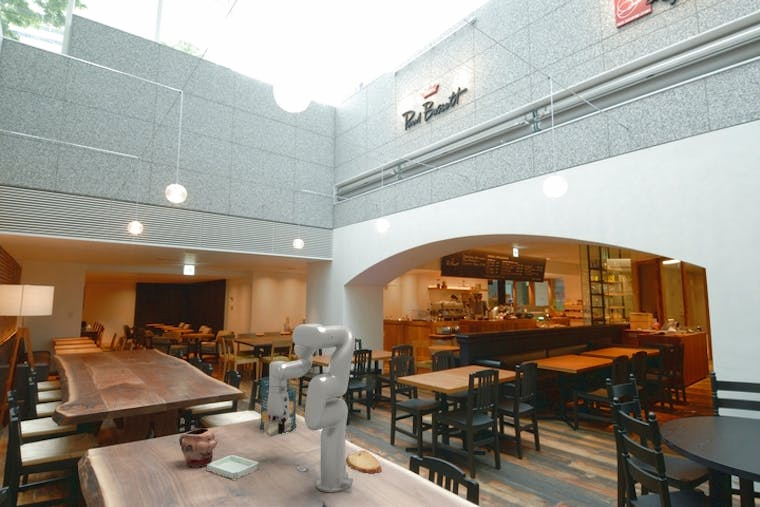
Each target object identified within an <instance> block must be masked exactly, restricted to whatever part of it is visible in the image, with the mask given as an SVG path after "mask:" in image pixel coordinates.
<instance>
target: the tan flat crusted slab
mask: <svg viewBox="0 0 760 507" xmlns="http://www.w3.org/2000/svg"><path fill="white" fill-rule="evenodd" d="M347 464H348V465H347ZM346 465H347V467H349V468H350V467H351V468H350V469H352V468H353V469H352V470H354V471H355V470H357V471H356V472H358V471H359V472H358V473H361V472H362V474H366V473H368V475H374V474H375V473H377V474H380V473H382V471H383V469H382V466H381V463H380V462H379V460H378V459H377V458H376V457H375V456H374V455H373V454H372V453H371V452H369V451H367V450H366V451H365V450H360V451H358V452H355V453H354V454H347V456H346ZM375 475H376V474H375Z"/></svg>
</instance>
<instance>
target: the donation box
mask: <svg viewBox="0 0 760 507" xmlns="http://www.w3.org/2000/svg"><path fill="white" fill-rule="evenodd" d="M289 386H290V384H289V383H288V380H286V388H287V390H286V392H288V397H289V407H290V413H289V415H290V417H289V418H291V429H290V430H288V431H285V432H282V433H285V434H287V433H286V432H289V431H293V430H294V429H295V428H297V423H296V422H297V420H296V418H297V417H296V415H297V414H296V413H297V412H296V411H297V409H296V408H297V407H296V405H297V402H296V400H297V389H296V388H293V387H289ZM268 395H269V376H265V377H262V378H261V379H260V396H261V397H260V399H261V400H260V401H261V404H260V406H261V407H260V424H259V430H260V429H261V430H260V431H262V430H263V431H262V432H264V424H265V423H268V422H270V419H269V417H268V416H267V414H266V413H267V403H268ZM282 418H283V417H282ZM277 419H279V417H278V416H277V418H276V420H277ZM295 430H296V429H295ZM295 430H294V431H295ZM294 431H293V432H294ZM282 433H280V434H281V435H283V434H282ZM289 433H290V432H289Z"/></svg>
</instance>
